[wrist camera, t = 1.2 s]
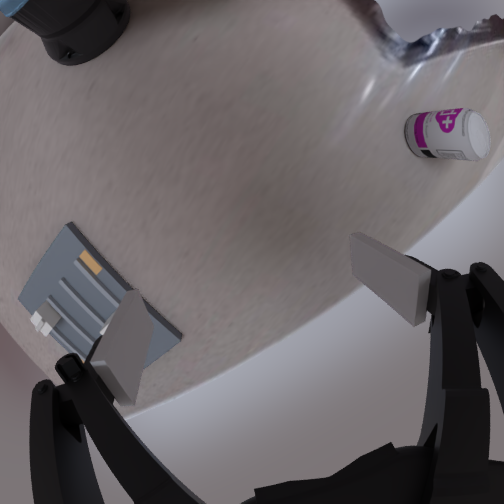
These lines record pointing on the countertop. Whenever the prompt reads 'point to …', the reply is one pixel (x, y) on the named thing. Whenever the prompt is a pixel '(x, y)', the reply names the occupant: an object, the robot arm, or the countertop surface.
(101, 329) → the tab
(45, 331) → the tab
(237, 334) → the countertop surface
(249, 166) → the countertop surface
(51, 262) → the switch board
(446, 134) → the supplement can
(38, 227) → the countertop surface
